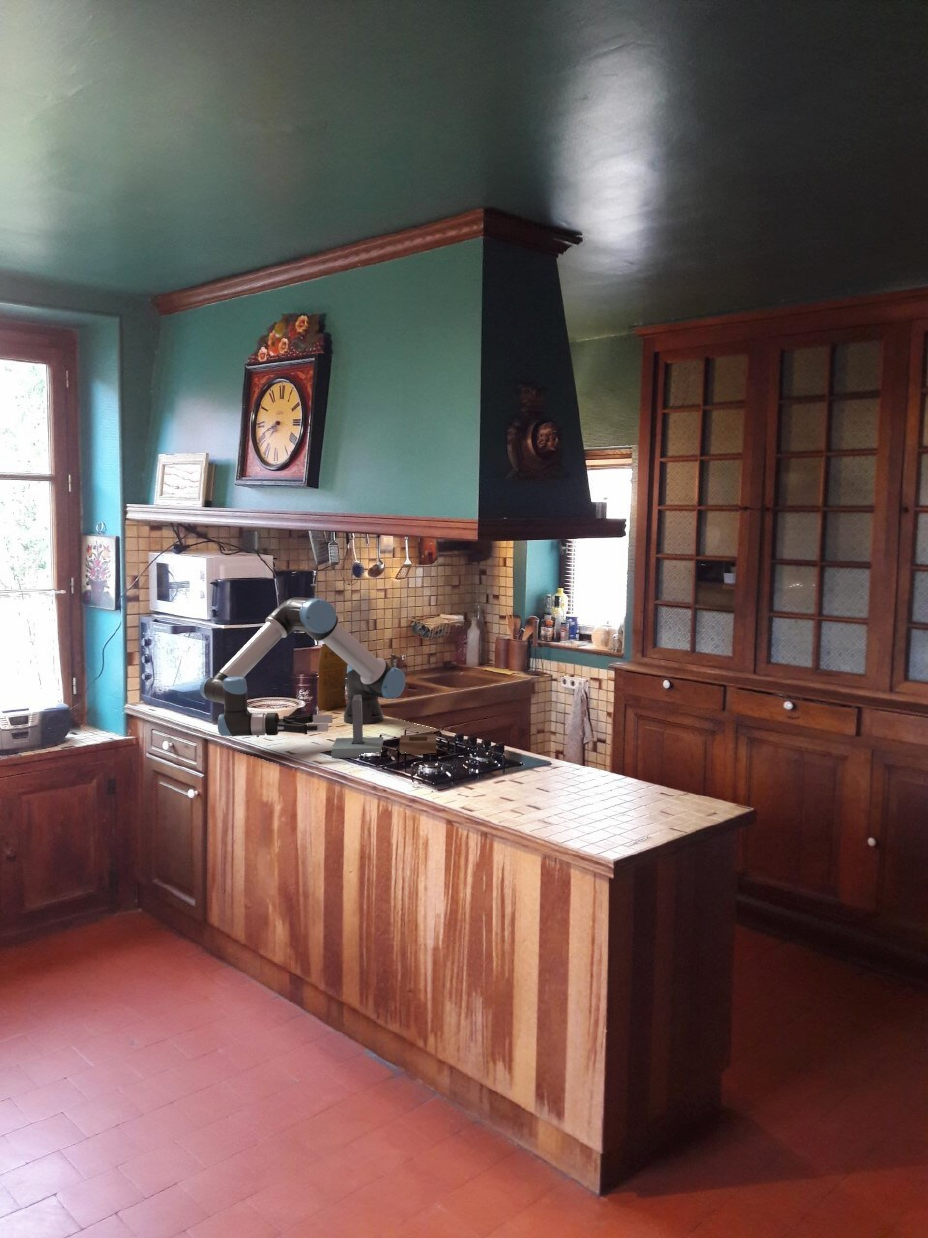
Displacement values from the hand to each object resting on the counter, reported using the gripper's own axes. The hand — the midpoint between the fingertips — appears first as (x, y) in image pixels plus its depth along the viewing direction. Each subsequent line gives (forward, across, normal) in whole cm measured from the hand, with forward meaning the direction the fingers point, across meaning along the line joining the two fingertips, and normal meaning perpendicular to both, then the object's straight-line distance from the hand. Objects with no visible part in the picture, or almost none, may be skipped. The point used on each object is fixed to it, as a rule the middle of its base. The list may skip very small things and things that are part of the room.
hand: (330, 723), depth 330 cm
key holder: (+29, 0, -10) cm, 31 cm away
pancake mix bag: (-7, -78, -10) cm, 79 cm away
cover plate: (+9, 0, -10) cm, 13 cm away
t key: (+9, 0, -10) cm, 13 cm away
